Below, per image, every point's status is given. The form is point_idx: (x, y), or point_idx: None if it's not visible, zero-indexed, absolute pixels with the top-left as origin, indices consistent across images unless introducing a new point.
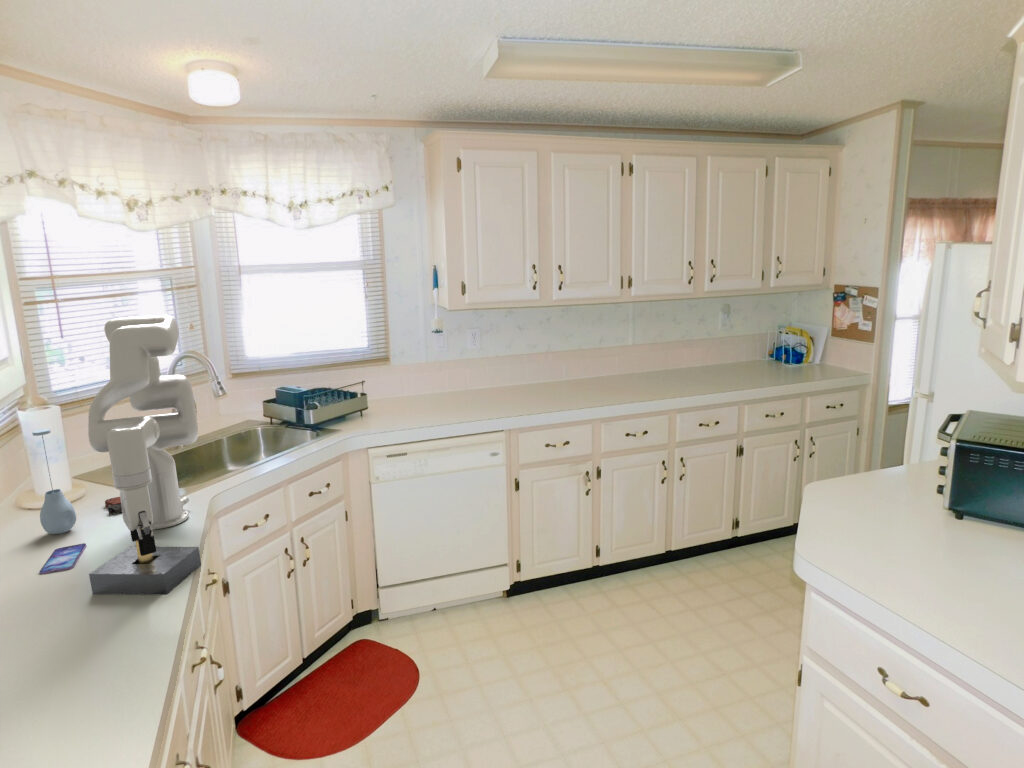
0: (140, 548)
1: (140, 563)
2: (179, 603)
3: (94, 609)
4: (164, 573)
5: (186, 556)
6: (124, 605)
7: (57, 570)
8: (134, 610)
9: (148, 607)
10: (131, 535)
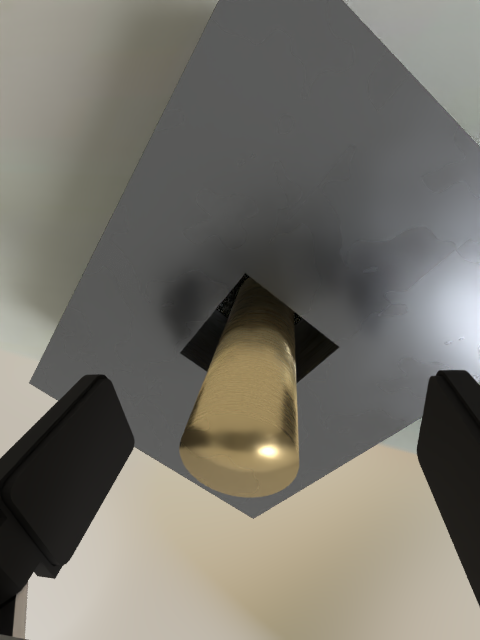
0: (48, 417)
1: (233, 319)
2: (17, 351)
3: (69, 42)
4: (37, 387)
5: (178, 472)
6: (61, 190)
7: None
8: (7, 225)
9: (17, 271)
10: (475, 416)
